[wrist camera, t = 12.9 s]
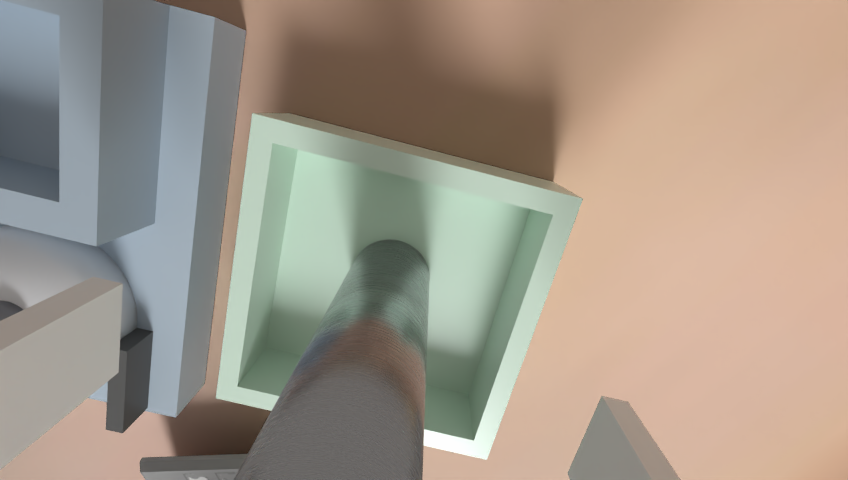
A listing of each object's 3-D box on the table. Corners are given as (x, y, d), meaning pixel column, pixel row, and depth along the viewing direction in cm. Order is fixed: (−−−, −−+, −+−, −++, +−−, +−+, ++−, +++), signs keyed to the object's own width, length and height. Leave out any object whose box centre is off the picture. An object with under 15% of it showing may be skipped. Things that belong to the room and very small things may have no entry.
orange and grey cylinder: (344, 302, 19) (81, 848, 5) (360, 230, 18) (86, 655, 4) (419, 320, 19) (371, 900, 5) (438, 250, 18) (447, 727, 4)
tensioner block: (204, 384, 22) (130, 470, 16) (-14, 334, 21) (-162, 407, 16) (246, 30, 17) (160, -7, 12) (-35, -45, 16) (-258, -120, 11)
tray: (253, 349, 21) (215, 398, 17) (289, 113, 18) (252, 113, 14) (478, 401, 22) (486, 459, 18) (553, 182, 18) (583, 198, 15)
